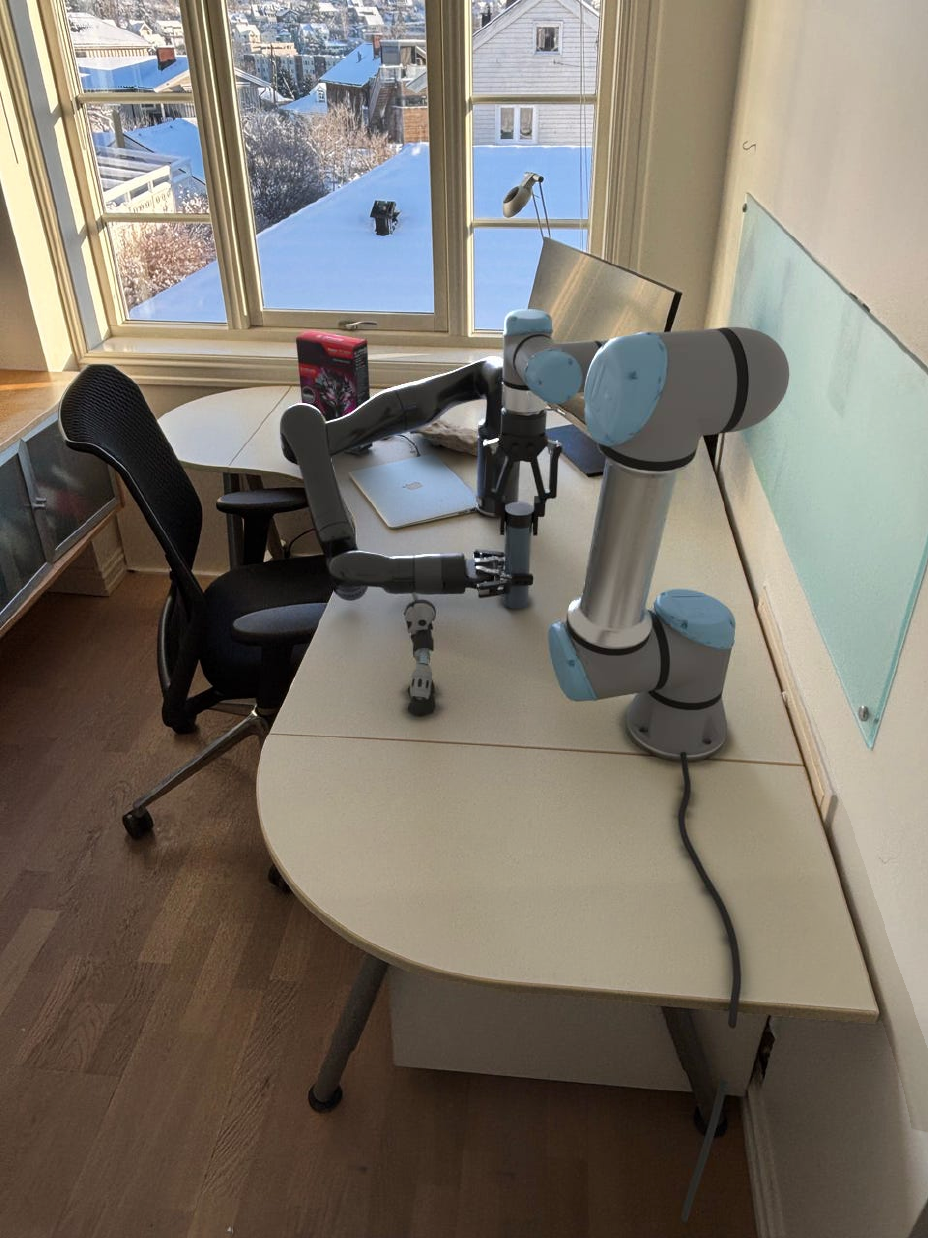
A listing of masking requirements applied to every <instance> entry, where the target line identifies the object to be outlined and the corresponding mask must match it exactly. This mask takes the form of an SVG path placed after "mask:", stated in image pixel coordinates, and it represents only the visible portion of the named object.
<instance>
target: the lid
mask: <svg viewBox="0 0 928 1238" xmlns="http://www.w3.org/2000/svg"><path fill="white" fill-rule="evenodd" d="M533 522H534V505H532V504H530V503H527V502H523V501H518V502H513V503H510V504H508V505H506V506H505V523H506V524H508V525H510V526H513V527H526V526H529V525H531V524H532V525H533Z"/></svg>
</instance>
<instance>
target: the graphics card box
mask: <svg viewBox="0 0 928 1238" xmlns="http://www.w3.org/2000/svg"><path fill="white" fill-rule="evenodd" d="M295 344H296V355H297V364H298V365H297V366H298V375H299V385H300V397H301V404H309V405H312V406H314V407H315V408H317V409H318V410H319V411H320V412H321V413H322V414H323V416H324V417H325V419H326V422H328V421H332V420H335V419H338V418H341V417H343V416H345V415H347V414H349V413H351V412H352V411H354V410H355V409H357V408H358V407H359V406H361V405H362V404H363V403H365V402H366V401H367V400H369V399H370V398H371V393H370V391H371V390H370V373H369V372H370V371H369V352H368V339H367V338H357V337H352V336H347V335H346V336H345V335H340V334H335V333H329V332H324V331H319V330H314V329H309V330H306V331H304V332H302V333H299V335H298V336H297V337H295ZM373 445H374V442H373V443H369V444H366V445H362V446H359V447H356V448H353V449H351V450H348V451H346V452H347V453H351V454H355V455H360V454H362V453H364V452H366V451H367V450H369V449H370V448H372V447H373Z"/></svg>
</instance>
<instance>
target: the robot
mask: <svg viewBox="0 0 928 1238" xmlns="http://www.w3.org/2000/svg"><path fill="white" fill-rule="evenodd" d="M411 593H412V594H411V596H412V599H413V601H411V602H409V603H408V604H407V605H406V606H405V608H404V611H403V615H404V621H405V623H406V632H407V634H410V635H409V638H410V640H411V642H412V658H414V660H415V664H416V665H415V667H414V669H413V671H412V675H411V677H410V685H409V686H408V688H407V693H408V695H409V697H410V698H411V700H410V702H409V703H408V707H407V711H408V712H409V713H410V714H411V715H412V716H415V717H416V716H417V717H424V716H428V715H430V714H432V713H434V711H435V709H436V699H435V695H434V694H436V690H435V682H434V679H433V672H432V666H430V663H431V652H434V650H435V641H434V637H433V634H432V631H434V625H433V622H434V621H435V620H436V618H437V609H436V607H435V605H434V603H433V602H431V601H429V600H427V599H423V598H420V599H419V597H418V595H417V594H415V592H414V590H413V589H411Z"/></svg>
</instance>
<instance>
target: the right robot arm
mask: <svg viewBox="0 0 928 1238" xmlns="http://www.w3.org/2000/svg"><path fill="white" fill-rule="evenodd" d="M553 333H554V331H553V318H552V316H551V315H550V313H548V312H546V311H543V310H540V309H535V308H533V309H532V308H527V309H526V308H524V309H523V308H522V309H516V310H512V311H511V312H509V313H508V314H506V316H505V318H504V326H503V333H502V338H503V343H502V344H503V347H502V357H503V382H502V406H503V408H502V410H501V432H500V434H499V436H498V439H495V440H491V441H489V440H484V441H483V450H484V453H485V456H486V467H485V488H484V495H485V497H486V498H492V499H493V500H494V515H495V517H494V518H499V535H500V536H505V504H506V502H505V495H503V493H504V490H505V487H506V484H507V481H508V478H509V475H510V472H511V469H512V467H513V465H514V462H520V463H521V462H524V463H529V464H530V467H531V472H532V474H533V479H534V483H535V488H536V492H537V495H534V496H533V507H534V522H533V523H532V537H537V536H538V532H539V531H538V530H539V518H544V517H545V515H546V503H547V501H548V500H550V499H552V500H554V499H556V498H557V495H558V475H559V474H558V473H559V458H560V456H561V454H562V452H563V444H562V442H561V440H555V441H554V440H551V439H548V435H547V433H546V431H547V430H546V429H547V415H548V411H547V409H546V408H548V404H550V405H560V404H564V403H566V402H568V401H569V400H571V399H573V398H574V397H575V396H576V395H577V394H582V393H583V402H584V403H585V407H584V408H583V417H584V421H585V422H584V423H585V426H586V428H587V431H588V433H589V435H590V437H591V438H592V439H593V440H594V441H595V443H596V447H597V449H598V451H599V452H600V454H601V455H602V456H603V458H605V462H604V469H603V474H602V480H601V485H600V491H599V497H598V502H597V508H596V514H595V520H594V525H593V530H592V535H591V536H592V538H591V543H590V547H589V552H588V559H587V564H586V570H585V576H584V582H583V588H582V594H580V595H578V596H577V597H576V598H575V599H573V600H572V601H571V603H570V604H569V606H568V609H567V614H566V620H564V621H562V620H557V622H554V623H552V624H551V625H549V628H548V632H547V643H548V650H549V655H550V661H551V665H552V668H553V669H552V670H553V672H554V675H555V678H556V680H557V683H558V685H559V687H560V690H561V691H562V693H563V694H564V696H565V697H566V698H567V699H568V700H570V701H572V702H576V703H578V702H589V701H590V702H592V701H593V702H597V701H599V700H605V699H611V698H616V697H622V696H623V697H624V696H629V695H634V694H635V695H634V697H633V699H632V701H631V702H630V704H629V706H628V708H627V712H626V719H625V728H626V732H627V734H628V736H629V738H630V739H631V741H632V742H634V744H636V745H637V746H638V747H639V748H640V749H641V750H643V751H645V752H646V753H648V754H650V755H651V756H654V757H656V758H659V759H662V760H666V761H670V762H675V763H681V770H682V776H683V782H684V785H683V786H684V788H683V796H682V799H681V803H680V805H679V810H678V817H677V820H678V830H679V833H680V838H681V840H682V842H683V843H682V844H683V845H684V847H685V850H686V852H687V853H688V855H689V858H690V859H691V861H692V863H693V865H694V867H695V869H696V871H697V874H698V875H699V878H700V879H701V881H702V883H703V884H704V886H705V888H706V889H707V891H708V892H709V895H710V896H711V898H712V899H713V901H714V903H715V905H716V907H717V910H718V911H719V914H720V916H721V919H722V922H723V924H724V927H725V930H726V934H727V937H728V942H729V947H730V953H731V963H732V988H731V996H730V1001H729V1009H728V1020H727V1025H728V1027H729V1028H730V1029H732V1030H733V1029H736V1027H737V1021H738V1013H739V1012H738V1011H739V1004H740V1003H739V1002H740V995H741V986H742V975H741V974H742V971H741V959H740V950H739V944H738V939H737V935H736V932H735V929H734V925H733V923H732V919H731V917H730V915H729V912H728V910H727V907H726V905H725V902H724V901H723V899H722V897H721V895H720V894H719V891H717V888H716V887H715V885H714V884H713V882H712V881H711V879H710V877H709V875H708V874H707V872H706V870H705V867H704V866H703V864H702V861H701V860H700V858H699V856H698V854H697V852H696V850H695V848H694V846H693V845H692V841H690V838H689V835H688V832H687V827H686V819H685V818H686V812H687V809H688V805H689V801H690V797H691V788H692V787H691V785H692V783H691V777H690V771H689V763H694V762H700V761H703V760H706V759H709V758H711V757H714V755H716V754H718V752H720V751H721V750H722V748H723V747H724V744H725V743H726V740H727V739H726V738H727V733H728V721H727V716H726V712H725V708H724V707H725V706H724V701H723V692H724V686H725V682H726V678H727V672H728V668H729V664H730V659H731V654H732V651H733V650H732V649H733V647H734V645H735V642H736V641H735V637H736V636H735V635H736V618H735V616H734V614H733V612H732V611H731V609H730V608H729V607H728V606H727V605H726V604H725V603H723V602H722V601H720V600H719V599H717V598H715V596H711V595H709V594H707V593H704V592H701V591H699V590H698V591H697V590H694V589H689V588H688V589H687V588H673V589H667V590H664V591H662V592H661V593H660V594H659V595H657V597H656V599H655V600H654V602H653V608H651V609H647V607H646V606H647V601H648V598H649V594H650V589H651V585H652V581H653V580H652V579H653V575H654V572H655V569H656V565H657V561H658V560H657V559H658V556H659V552H660V548H661V544H662V539H663V534H664V531H665V527H666V523H667V518H668V514H669V509H670V507H671V503H672V502H671V501H672V497H673V494H674V490H675V485H676V481H677V477H678V472H680V471H681V470H683V469H686V468H687V467H688V466H690V465H691V464H692V463H693V462H694V459H695V458H696V455H697V451H698V446H699V443H700V439H701V438H702V437H703V436H711V435H719V434H727V433H735V432H740V431H744V430H747V429H749V428H752V427H754V426H756V425H758V424H760V423H761V422H763V421H764V420H766V419H767V418H769V416H770V415H771V414H773V413H774V412H775V411H776V409H777V408H778V407H779V405H780V404H781V403H782V401H783V399H784V397H785V395H786V393H787V390H788V386H789V382H790V367H789V366H790V365H789V361H788V358H787V355H786V353H785V351H784V350H783V348H782V346H781V345H780V344H779V342H777V341H776V340H775V339H774V338H773V337H771V336H770V335H768V334H766V333H765V332H763V331H760V330H757V329H754V328H749V327H740V326H726V327H725V326H724V327H723V326H722V327H717V328H704V329H691V330H677V331H676V330H675V331H661V332H660V331H659V332H655V331H649V330H648V331H647V330H646V331H640V332H637V333H635V334H629V335H620V336H616V337H614V338H611V339H600V340H597V339H595V340H582V341H567V342H556V341H555V340H554V339H553V338H552V335H553ZM498 446H500V448H501V449H502V450H503V452H504V453H505V454H506V457H505V462H504V465H503V468H502V471H501V474H500V477H499V480H498V483H497V486H496V489H493V488H492V474H493V454H494V453H496V449H497V447H498ZM546 448H547V453H548V455H549V477H548V488H546V489H545V485H544V481H543V476H542V472H541V468H540V464H539V459H538V457H539V456H540V454H541V453H542V452H543V451H544V450H545V449H546ZM728 1082H729V1081H727V1080H725V1079H719V1082H718V1087H717V1091H716V1096H715V1100H714V1104H713V1107H712V1108H713V1109H712V1112H711V1115H710V1120H709V1122H708V1127H707V1130H706V1134H705V1137H704V1140H703V1144H702V1147H701V1150H700V1153H699V1156H698V1160H697V1161H696V1166H695V1169H694V1172H693V1175H692V1178H691V1182H690V1185H689V1188H688V1191H687V1196H686V1198H685V1202H684V1205H683V1208H682V1212H681V1216H680V1219H681V1221H683V1222H687V1221H688V1219H689V1215H690V1213H691V1209H692V1205H693V1201H694V1199H695V1196H696V1192H697V1189H698V1187H699V1183H700V1180H701V1177H702V1173H703V1171H704V1167H705V1165H706V1161H707V1159H708V1155H709V1153H710V1149H711V1146H712V1143H713V1140H714V1137H715V1133H716V1129H717V1126H718V1123H719V1119H720V1116H721V1111H722V1108H723V1104H724V1100H725V1096H726V1092H727V1087H728Z"/></svg>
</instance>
